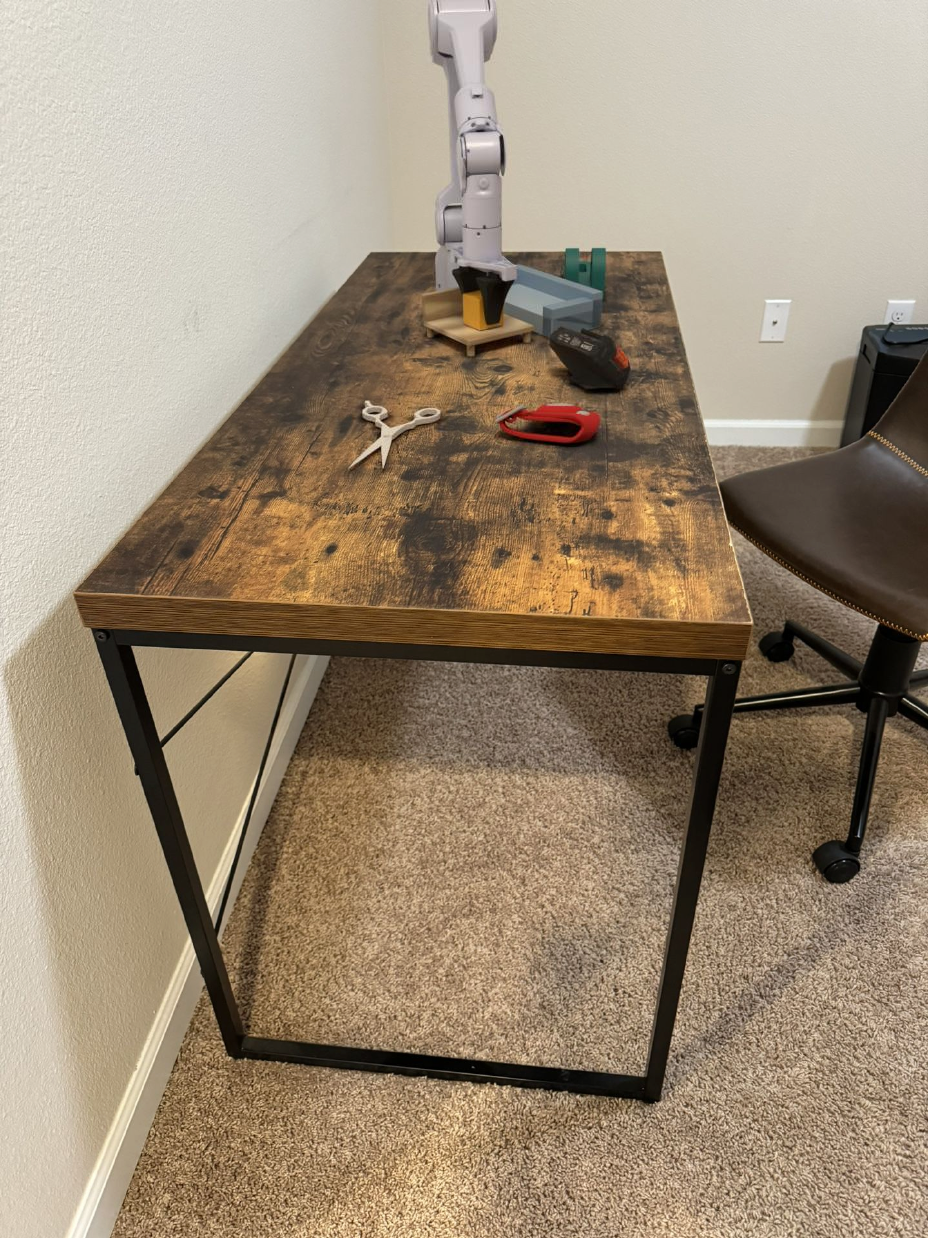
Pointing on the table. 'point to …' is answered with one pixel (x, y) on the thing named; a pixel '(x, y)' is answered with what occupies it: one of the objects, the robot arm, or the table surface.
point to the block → (476, 311)
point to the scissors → (393, 432)
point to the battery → (590, 358)
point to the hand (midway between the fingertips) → (483, 319)
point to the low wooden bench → (448, 319)
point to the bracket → (586, 268)
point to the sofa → (552, 302)
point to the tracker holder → (552, 414)
